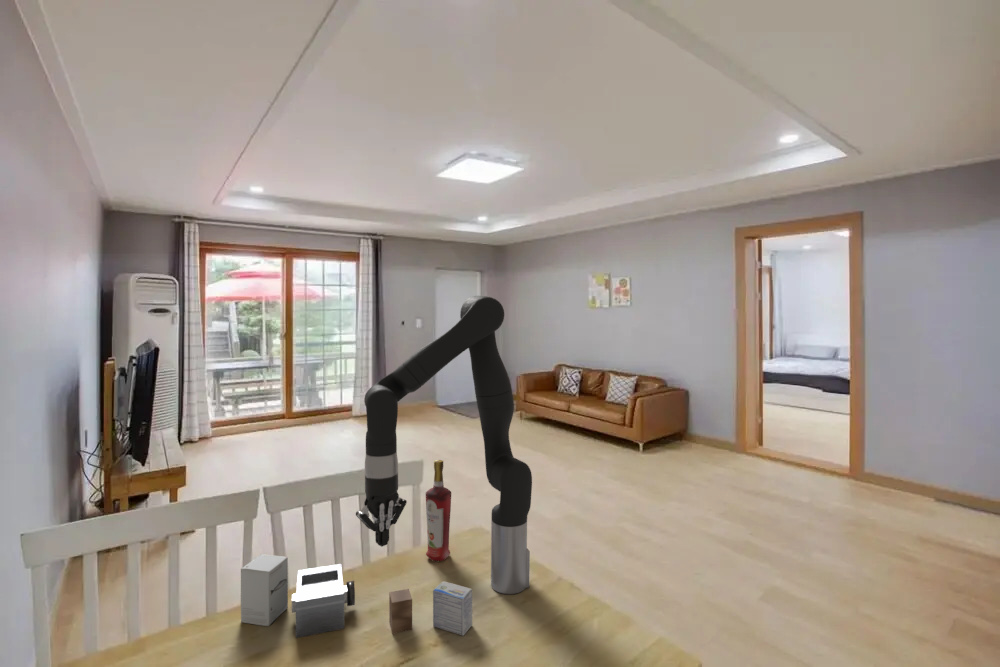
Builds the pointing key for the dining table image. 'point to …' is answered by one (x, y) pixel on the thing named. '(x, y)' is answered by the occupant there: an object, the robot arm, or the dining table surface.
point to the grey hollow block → (319, 600)
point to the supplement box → (264, 589)
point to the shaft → (348, 595)
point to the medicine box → (452, 608)
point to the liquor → (438, 516)
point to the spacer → (400, 611)
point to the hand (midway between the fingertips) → (382, 544)
